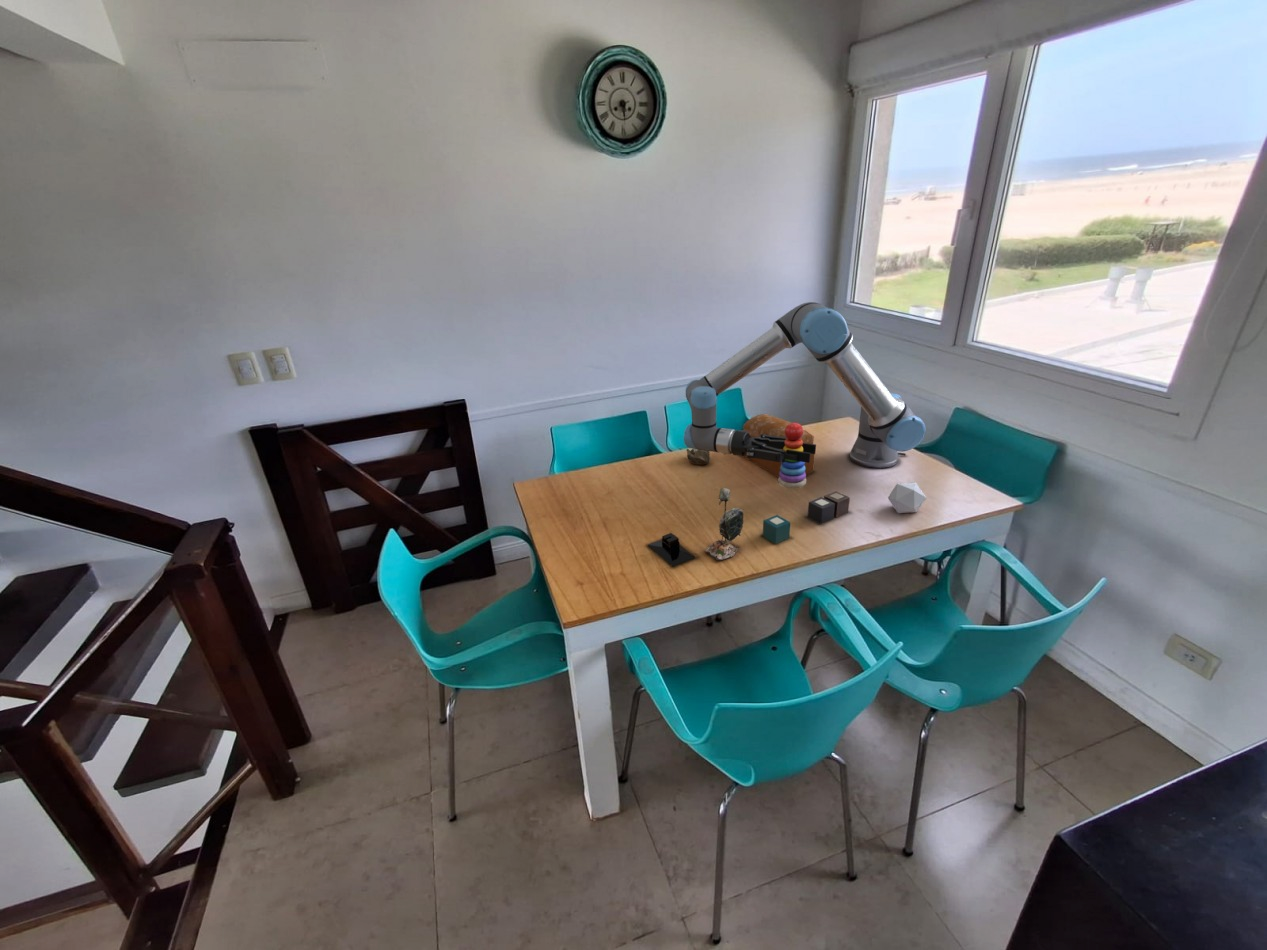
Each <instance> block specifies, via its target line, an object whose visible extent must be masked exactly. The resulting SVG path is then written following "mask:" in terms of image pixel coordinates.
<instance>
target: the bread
mask: <svg viewBox="0 0 1267 950" xmlns="http://www.w3.org/2000/svg"><path fill="white" fill-rule="evenodd" d="M790 423H791V421H788V420H786V419H782V418H780V417H776V416H773V415H770V414H768V413H767V414H766V413H763V414H762V413H761V414H757V415H755V416H752V417H751V418H749V419H748V420H747V421H746V422H745V423H744V424H743V426H742V431H747V432H748V433H749V434H750V436H751V437H760V435H761V434H765V435H770V436H779V437H786V435H785V428H786V426H787V425H788V424H790ZM800 439H802V441H803V443H808V444H814V439H815V436H814V435H813V434H811V433H810V432H809V431H808V430H805V429H803V435H802V437H801V438H800ZM766 446H767V444H766ZM780 450H783V449H780ZM742 457H743V458H745V459H746V460H748V461H750V462H751V463H754V464H755V465H758V466H759V467H760V468H762V469H764V470H766V471H767V472H769V473H770V474H773V475H774V476H776V477H778V478H779V477H780V476H779V472H780V471H781V469H780V467H781V465H782V463H781V462H775V461H769V460H763V459H757V458H747V454H746V455H745V456H742ZM781 461H782V460H781ZM814 465H815V454H811V455H810V462H809V463H807V462H805V464H804V466H805V473H806V476H807V475H809V474H811V473H812V472H813V471H814V467H815V466H814Z"/></svg>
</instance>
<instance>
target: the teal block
mask: <svg viewBox="0 0 1267 950" xmlns="http://www.w3.org/2000/svg"><path fill="white" fill-rule="evenodd" d="M790 535H791V521H790V520H787V519H786V518H784V517H782V516H780V515H779V514H776V515H773V516H771V517H768V518H766V519H763V521H762V537H764V538H765V539H766V540H768V541H770V542H771V543H773V544H774V545H777V544H779V543H781V542H784V541H786V540H788V539H790Z"/></svg>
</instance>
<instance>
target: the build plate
mask: <svg viewBox="0 0 1267 950" xmlns="http://www.w3.org/2000/svg"><path fill="white" fill-rule="evenodd" d="M647 547H648V548H650V549H651V550H652V551H653V552H654V553H656V554H657V555H658V556H659V557H660V558H661V559H663V561H665V562H666V563H667V564H669V565H670V567H672V568H675V567H677V566H680V565H682V564H685V563H687V562H690V561H692V560H694V559H696V556H695V555H694V554H692V553H691V552H690V551H688V550H687V549H686V548H685V547H683V546H682V545H681V544H680V539H679V537H677V536H676V535H675V534H673V532H669V533H667V534H664V535H662V536H661V539H659V540H656V541H654V542H651V543H649V544H647Z"/></svg>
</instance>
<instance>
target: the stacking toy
mask: <svg viewBox="0 0 1267 950" xmlns="http://www.w3.org/2000/svg"><path fill="white" fill-rule="evenodd" d="M803 430H804V428H803V426H802V425H801V424H800V423H798V422H790V424H788V425H787V426H786V428H785V435H786V437H787V439H786V440H785V442H784V443H785V445H786V446H784V448H783V450H784V451H786V450H794V451H801V452H803V447H802V445H803V441H802V439H800V438H801V437H802V435H803ZM781 463H782V465H781V467H780V469H781V471H780V472H779V476H780V477H778V479H777V481H778V484H779V485H780V486H781V487H783V488H786V489H792V490H794V489H795V490H797V489H802V488H803V487H804V486H806V484H807V475H806V473H805V466H804V464H805V462H801V461H794V460H787V459H785V462H782V461H781Z"/></svg>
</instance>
